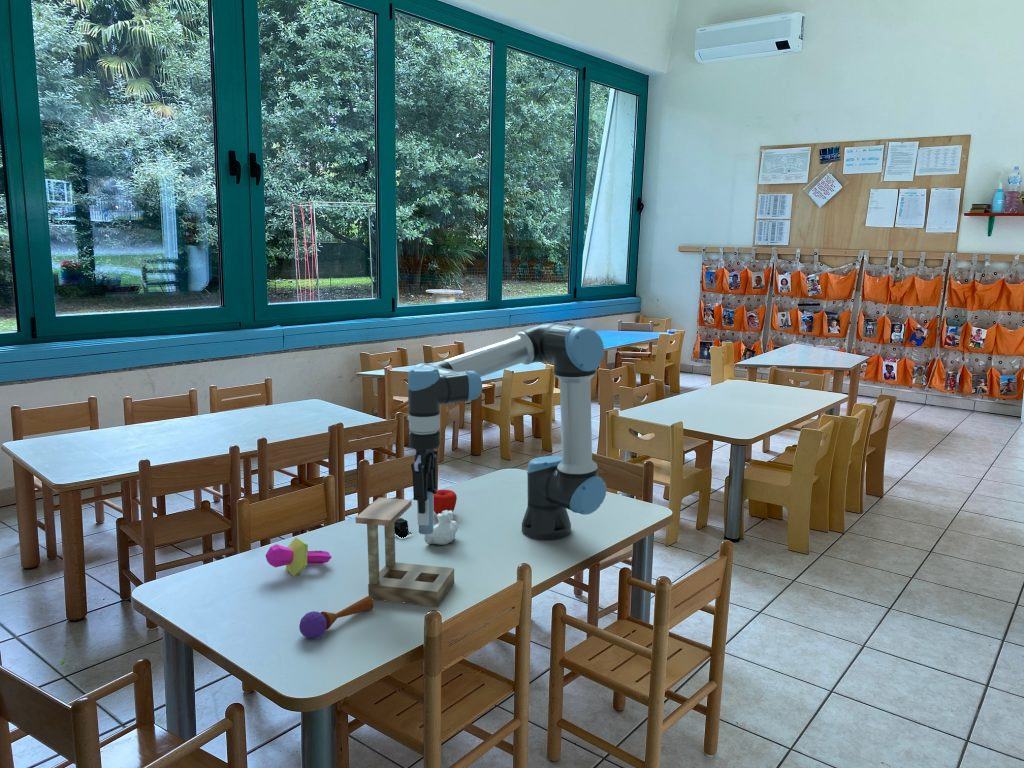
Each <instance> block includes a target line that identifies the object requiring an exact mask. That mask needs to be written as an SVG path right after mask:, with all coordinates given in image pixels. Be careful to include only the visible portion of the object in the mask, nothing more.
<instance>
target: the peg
mask: <svg viewBox="0 0 1024 768" xmlns="http://www.w3.org/2000/svg"><path fill="white" fill-rule="evenodd" d="M427 499H429V525H428V526H427V525H418V533H419V534H420V535H425V534H431V533H433V526H434V520H433V493H432V492H429V491H427Z"/></svg>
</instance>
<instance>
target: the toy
mask: <svg viewBox="0 0 1024 768" xmlns="http://www.w3.org/2000/svg"><path fill="white" fill-rule="evenodd" d="M308 549H309V545H308V543H306V542H305V541H303V540H302V539H301V538H299V537H297V536H295V537H294V539H293V540H292V541H291V542H290V544H289V545H288V546H283V545H280V544H277V543H276V544H274V545H271V546H270V547H269V549H268V550H267V552H266V554H265V556H264V557H265V559H266V562H267V563H268V564H269V565H270V566H272V567H273V568H279V567H283V566H285V570H286V571H287V572H288V571H289V572H290V575H292V576H293V577H296V576H299V575H300V574H301V573H302V571H303V570H304V569H305V568H306V567H307V566H308V565H314V564H315V565H319V564H320V565H321V564H326V563H328V562H329V561H330V560H331V559H332V555H331V554H330V552H329V551H326V550H308ZM289 572H288V573H289Z"/></svg>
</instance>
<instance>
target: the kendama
mask: <svg viewBox="0 0 1024 768" xmlns="http://www.w3.org/2000/svg"><path fill="white" fill-rule="evenodd" d="M374 606H375V602H374V600H372V598H371V597H369V595H368V596H367V595H366V596H365V597H363V598H361V599H360V600H357V601H356V602H354V603H352V604H350V605H349V606H347V607H345V608H343V609H341V610H340V611H338V612H336V613H335V612H329V611H321V612H319V611H314V610H313V611H309V612H306V613H305V614H304V616H302V617H301V619H300V622H299V631H300V634H301V635H302V636H304V638H306V639H308V640H314V639H318V638H320V637H321V636H322V635H324V633H326V630H329V629H330V628H331V627H332V625H333V624H334V623H335V622H336V621H337V619H340V618H343V617H347V616H351V615H355V614H356V615H357V614H359V613H363V612H366V611H367V610H368V611H370V609H372V610H373V609H374ZM368 611H367V612H368Z"/></svg>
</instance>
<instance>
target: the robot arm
mask: <svg viewBox="0 0 1024 768" xmlns="http://www.w3.org/2000/svg"><path fill="white" fill-rule="evenodd" d="M604 356H605V346H604V342H603V340H602V338H601V336H600V335H599V334H598V333H597V331H596V330H594V329H593V328H589V327H586V326H583V325H575V324H566V323H558V322H550V323H548V322H547V323H543V324H540V325H536V326H533V327H530V328H527V329H524V330H522V331H521V330H520V331H517V332H516V333H514V335H513V336H512V337H510V338H508V339H505V340H502V341H499V342H496V343H492V344H490V345H487V346H485V347H481V348H477V349H474V350H472V351H468V352H466V353H462V354H459V355H456V356H454V357H451V358H448V359H444V360H440V361H438V362H434V363H431V364H430V363H427V362H422V363H421V362H420V363H417V364H416V365H415V366H413V368H411V369H410V370H409V371H408V373H407V375H408V376H407V387H406V388H407V397H408V398H407V401H408V403H407V404H408V416H407V418H406V420H407V421H408V429H409V432H408V445H409V447H410V448H411V449H414V450H415V454H414V462H411V463H410V467H411V472H412V473H411V474H412V476H411V477H412V489H413V490H412V491H413V492H412V493H413V494H412V495H413V498H412V499H413V501H416V503H417V504H416V505H417V525H418V526H419V525H427V526H428V525H429V499H427V491H429V492H432V493H433V494H437V490H438V489H437V478H438V477H437V475H438V474H437V469H438V468H437V466H438V464H437V463H438V453H439V452H438V450H436V449H437V448H438V447H439V446H441V445H440V444H441V434H440V431H439V430H440V429H441V420H440V418H441V417H440V415H441V414H440V412H441V411H440V408H441V407H440V405H449V404H454V403H455V404H456V403H461V402H466V403H467V402H470V401H472V400H476V399H478V398H479V397H480V396H481V394H482V391H483V382H482V378H483V377H485V376H487V375H491V374H493V373H496V372H499V371H503V370H505V369H508V368H510V367H511V368H512V367H514V366H517V365H520V364H522V365H530V364H533V363H548V364H552V365H553V373H554V377H556V378H557V379H558V380H559V394H560V395H559V397H560V432H561V434H560V435H561V436H560V437H561V456H560V455H545V456H540V457H535V458H533V459H531V460H530V461H529V462H528V464H527V465H528V466H527V467H528V468H527V471H526V472H527V507H526V510H525V513H524V515H523V518H522V522H521V532H522V534H524V535H525V536H526V537H529V538H532V539H536V540H545V541H550V540H559V539H563V538H565V537H568V536H570V534H571V533H572V522H571V520H570V516H569V514H568V510H569V511H571V512H572V513H574V514H575V513H576V514H580V515H584V516H585V515H591V514H592V513H593V514H594V513H595V512H596V511H597V510H598V509H599V508H600V507H601V505H602V504H603V503H604V501H605V498H606V496H607V484H606V482H605V480H603V478H602V477H600V476H599V475H598V474H599V472H598V467H599V466H598V464H597V463H596V462H595V461H594V460H593V442H592V441H593V439H592V437H593V436H592V432H593V431H592V397H591V396H592V392H591V390H592V389H591V379H592V378H593V377H594V376H595V375H596V374H597V372H596V371H597V370H596V369H598V368H599V367H600V365H601V363H602V362H601V361H603V360H604ZM434 513H435V512H434V497H433V521H434V520H435V514H434Z"/></svg>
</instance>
